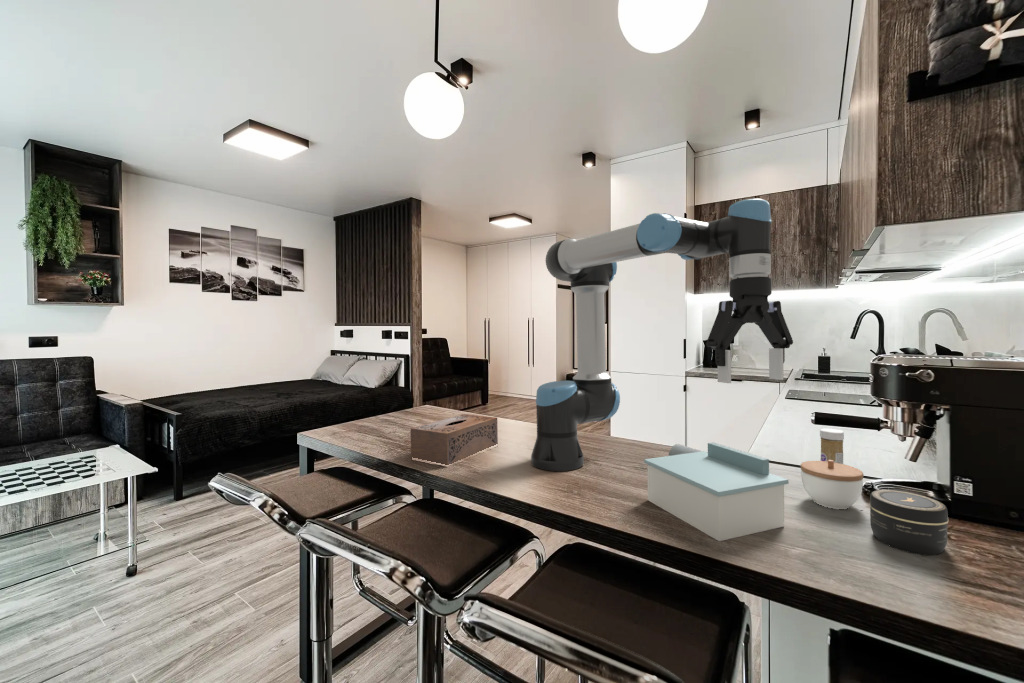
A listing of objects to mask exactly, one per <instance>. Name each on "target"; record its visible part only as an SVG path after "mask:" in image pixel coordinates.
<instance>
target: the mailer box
mask: <svg viewBox="0 0 1024 683" xmlns="http://www.w3.org/2000/svg"><path fill="white" fill-rule="evenodd" d="M646 465H647V467H646V468H647V501H649V503H652V504H654V505H655V506H657V507H659V508H660V509H662V510H664V511H666V512H668V513H670V514H671V515H672V516H675V517H676V518H678V519H679V520H681V521H683V522H685V523H686V524H688V525H690V526H692V527H693V528H696V529H697V530H699V531H701V532H702V533H704V534H706V535H707V536H709V537H711V538H713V539H714V540H717V541H718V542H723V541H726V540H732V539H736V538H739V537H740V538H741V537H745V536H748V535H749V536H750V535H752V534H756V533H761V532H765V531H771V530H774V529H778V528H783V527H785V484H784V485H779V486H773V487H768V488H763V489H757V490H752V491H746V492H741V493H735V494H730V495H725V496H717V495H714V494H712V493H710V492H708V491H705V490H703V489H701V488H699V487H697V486H694V485H692V484H690V483H688V482H685V481H683V480H681V479H679V478H677V477H674V476H672V475H670V474H668V473H665V472H663V471H661V470H659V469H657V468H654V467H652V466H650V465H648V464H646Z"/></svg>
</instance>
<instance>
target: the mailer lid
mask: <svg viewBox="0 0 1024 683" xmlns="http://www.w3.org/2000/svg"><path fill="white" fill-rule="evenodd" d="M701 451H702V450H701ZM643 463H644V464H645V465H650V466H652V467H654V468H657V469H659V470H661V471H663V472H665V473H668V474H670V475H672V476H674V477H677V478H679V479H681V480H683V481H685V482H688V483H690V484H692V485H694V486H697V487H699V488H701V489H703V490H705V491H708V492H710V493H712V494H714V495H717V496H725V495H730V494H735V493H741V492H746V491H752V490H757V489H763V488H768V487H773V486H779V485H784V486H785V485H789V479H788V478H785V477H783V476H779V475H776V474H774V473H771V472H770V459H769V458H766V457H762V456H760V455H756V454H753V453H750V452H746V451H742V450H739V449H736V448H733V447H730V446H726V445H723V444H719V443H716V442H714V441H713V442H708V443H707V451H705V450H703V451H702V452H694V453H687V454H680V455H672V456H668V455H666V456H659V457H652V458H645V459H643Z"/></svg>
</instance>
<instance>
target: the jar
mask: <svg viewBox="0 0 1024 683" xmlns="http://www.w3.org/2000/svg"><path fill="white" fill-rule="evenodd" d="M869 495H870V496H869V514H870V517H869V519H870V520H869V521H870V523H869V524H870V528H871V531H872V533H873V535H874V537H875V538H876V539H877V540H878V541H880V543H883V544H885V545H887V546H889V545H890V546H889V547H890V548H894V549H896V548H897V550H899V549H900V551H903V550H904V552H906V551H908V552H907V553H911V554H916V553H917V555H922V554H926V555H925V556H935V555H934V554H936V555H940V554H941V553H943V552H945V548H947V547H946V546H947V545H948V523H949V517H948V515H949V514H948V513H949V512H948V508H947V506H946V505H945V504H944V503H942V502H941V501H938V500H936V499H935V498H932V497H928V496H925V495H922V494H917V493H914V492H910V491H909V492H907V491H904V490H903V491H902V490H895V489H893V490H892V489H879V490H874V491H872V492H870V494H869ZM939 553H940V554H939Z"/></svg>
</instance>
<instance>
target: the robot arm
mask: <svg viewBox="0 0 1024 683" xmlns="http://www.w3.org/2000/svg"><path fill="white" fill-rule="evenodd" d="M771 214H772V213H771V205H770V203H769V201H767V200H766V199H763V198H748V199H743V200H739V201H736V202H735V203H732V204H731V205H729V208H728V213H727V216H725V217H723V218H720V219H715V220H711V221H700V220H696V219H691V218H685V217H680V216H676V215H672V214H671V213H658V212H657V213H656V212H655V213H651V214H648V215H647V216H646V217H644V218H643V219H642V220H641V221H640V223H637V224H636V223H635V224H632V225H629V226H626V227H621V228H617V229H614V230H610V231H608V232H603V233H599V234H596V235H593V236H589V237H585V238H581V239H575V238H567V239H562V240H560V241H557V242H555V243H553V244H552V245H551V246H550V247H549V248H548V250H547V252H546V256H545V266H546V269H547V271H548V272H549V274H550V275H551V276H552V277H553V278H555V279H557V280H559V281H562V282H570V291H572V292H573V293H574V294H575V307H576V308H575V312H576V315H575V316H576V352H577V353H576V355H577V356H576V357H577V359H576V361H577V362H576V364H577V372H576V374H575V375H574V376H573V377H572V380H559V381H557V380H556V381H549V382H546V383H543V384H541V385H539V386H538V388H537V390H536V396H535V397H536V399H535V405H536V439H535V442H534V446H533V449H532V451H531V455H530V456H531V457H530V458H531V461H530V462H531V465H532V466H533V465H534V466H533V467H535V468H537V469H540V470H544V471H551V472H552V471H553V472H567V471H574V470H577V469H580V468H582V467H583V466H584V465H583V464H585V463H584V462H585V461H584V460H585V458H584V454H583V451H582V447H581V445H580V442H579V438H578V425H581V424H586V423H587V424H588V423H594V422H596V423H597V422H602V421H605V420H608V419H611V418H613V417H614V415H616V414H617V412H618V410H619V408H620V403H621V396H620V395H621V394H620V392H619V389H618V388H617V386H616V384H614V383H613V382H612V376H611V375H610V374H609V373H608V372H607V360H606V357H607V356H606V355H607V353H606V351H607V350H606V313H605V293H606V292H607V291H608V290H609V289H610V283H611V282H612V281H613V280H614V279H615V275H616V274H617V270H618V262H622V261H623V262H624V261H629V260H634V259H640V258H644V257H649V256H650V257H651V256H657V255H661V254H676V255H678V256H679V257H680V258H681V259H683V260H684V261H691V260H701V259H704V258H709V257H713V256H719V255H724V254H729V256H728V257H729V258H728V259H729V260H728V261H729V264H728V268H729V271H728V275H729V278H731V279H730V280H729V283H728V284H729V287H728V288H729V297H730V298H731V299H732V300H722V301H719V303H718V311H717V315H716V318H715V320H714V322H713V324H712V328H711V329H710V332H709V335H708V338H707V339H706V342H705V345H706V347H707V348H710V349H711V350H712V351H713V350H714V351H715V353H714V354H715V355H714V356H715V357H714V358H715V363H714V364H715V366H716V367H717V382H718V383H723V384H724V383H725V384H732V351H731V349H728V348H729V346H730V345H731V343H732V342H733V340H734V339H735V337H736V336H737V334H738V333H739V332H740V330H741V328H742V327H743V326H744V325H745V324H755V325H757V327H759V329H760V331H761V332H762V334H763V335H764V337H766V339H767V341H768V343H770V345H771V347H772V348H771V347H770V348H768V373H769V374H768V377H769V378H768V379H769V380H778V381H784V364H785V359H786V358H785V353H786V352H785V349H789V348H790V347H791V346H792V345H793V344H794V340H793V337H792V335H791V332H790V329H789V327H788V324H787V322H786V319H785V316H784V314H783V312H782V303H781V301H780V300H772V301H769V300H768V297H769V296H771V295H772V290H773V288H772V278H771V277H770V276H769V275H771V273H772V251H771V250H772V249H771V248H772V247H771V246H772V245H771V244H772V243H771V240H772V238H771V236H772V234H771V232H772V223H773V222H772V216H771ZM582 465H583V466H582ZM581 466H582V467H581Z"/></svg>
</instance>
